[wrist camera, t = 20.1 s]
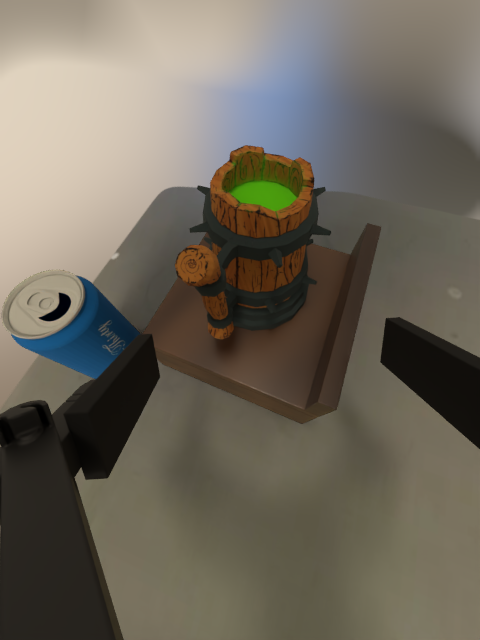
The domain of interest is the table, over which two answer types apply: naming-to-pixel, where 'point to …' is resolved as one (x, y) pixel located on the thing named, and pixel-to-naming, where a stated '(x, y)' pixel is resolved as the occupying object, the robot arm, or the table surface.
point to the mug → (254, 242)
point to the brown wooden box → (275, 338)
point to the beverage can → (67, 321)
